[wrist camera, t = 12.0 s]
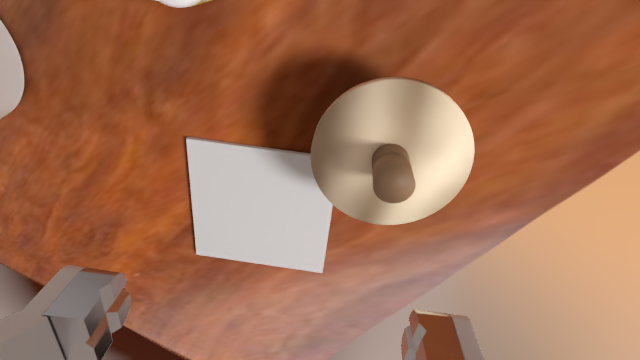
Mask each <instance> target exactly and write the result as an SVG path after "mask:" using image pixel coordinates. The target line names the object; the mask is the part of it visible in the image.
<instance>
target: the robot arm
mask: <svg viewBox="0 0 640 360" xmlns="http://www.w3.org/2000/svg"><path fill="white" fill-rule="evenodd" d="M23 90H24V71H23V66H22V62H21V58H20V55H19V52H18V50H17V47H16V45H15V43H14V41H13V39H12V37H11V35H10V34H9V32H8V30H7V29H6V27H5V26H4V24H3V23H2V21H1V20H0V119H1V118H3V117H4V116H6V115H7V114H9V113H10V112H11V111H13V110H14V109H15V108H16V106H17V105H18V104H19V102H20V100H21V97H22V94H23ZM126 283H127V280H126V277H125V274H123V273H118V272H112V271H105V270H99V269H93V268H85V267H78V266H71V265H67V266H65V267H63V268H61V269H60V270H59V271H58V272H57V273H56V275H55V276H54V277H53V278H52V279H51V280H50V281H49V282H48V283H47V284H46V285H45V287H44V288H43V289H42V290H41V291H40V292H39V293H38V294H37V295H36V296H35V297H34V298H33V300H32V301H31V302H30V303H29V304H28V305H27V306H26V307H25V308H24V309H23V310H22V312H21V313H12V314H10V315H8V316H6V317H4V318H2V319H0V360H102V358H103V357H104V355H105V353H106V352H107V350H108V348H109V347H110V345H111V343H112V342H113V341H112V335H111V334H112V333H113V332H115V331H116V330H118V329H119V328H121V327H122V325H123V323H124V322H125V320H126V318H127V315H128V312H129V309H130V302H131V299H130V294H129V292H128V291H127V290H125V289H124V288H123V287H124V286H125V284H126ZM409 321H410V326H408V327H406V328H405V330H404V333H403V337H402V345H401V346H402V359H403V360H484V357H483V355H482V352H481V349H480V346H479V343H478V341H477V338H476V335H475V332H474V330H473V327H472V324H471V321H470V319H469V318H468V317H467V316H461V315H453V314H447V313H438V312H430V311H421V310H413V311H412V312H411V314H410V317H409Z"/></svg>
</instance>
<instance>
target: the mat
mask: <svg viewBox="0 0 640 360" xmlns="http://www.w3.org/2000/svg"><path fill="white" fill-rule="evenodd" d="M186 144H187V155H188V166H189V178H190V189H191V200H192V211H193V222H194V233H195V245H196V254H197V255H203V256H210V257H217V258H224V259H230V260H237V261H244V262H251V263H258V264H264V265H271V266H278V267H285V268H292V269H298V270H305V271H312V272H319V273H323V266H324V259H325V253H326V246H327V240H328V233H329V226H330V220H331V213H332V207H333V204H332V203H331V202H330V201H329V200H328V199H327V198H326V197H325V196H324V194H323V193H322V192H321V190H320V188H319V187H318V185H317V183H316V180H315V178H314V175H313V171H312V167H311V154H310V153H303V152H295V151H288V150H281V149H274V148H267V147H259V146H252V145H245V144H238V143H231V142H223V141H216V140H209V139H202V138H195V137H187V138H186Z"/></svg>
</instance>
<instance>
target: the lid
mask: <svg viewBox="0 0 640 360" xmlns="http://www.w3.org/2000/svg"><path fill="white" fill-rule="evenodd" d="M473 160H474V139H473V133H472V130H471V127H470V125H469V122H468V120H467V119H466V117H465V115H464V113H463V112H462V110H461V109H460V108H459V106H458V105H457V104H456V103H455V101H454V100H453V99H452V98H450V97H449V96H448V95H447V94H446V93H445V92H443V91H442V90H440V89H439V88H437V87H435V86H433V85H431V84H429V83H427V82H424V81H421V80H418V79H413V78H408V77H383V78H378V79H373V80H370V81H367V82H364V83H361V84H359V85H357V86H355V87H353V88H351V89H349V90H348V91H346V92H345V93H343V94H342V95H341V96H339V97H338V98H337V99H336V100H335V101H334V102H333V103H332V104H331V105H330V106H329V107H328V108H327V110H326V111H325V113H324V114H323V116H322V117H321V119H320V121H319V123H318V125H317V127H316V130H315V133H314V137H313V140H312V146H311V167H312V171H313V175H314V178H315V180H316V183H317V185H318V187H319V188H320V190H321V192H322V193H323V194H324V196H325V197H326V198H327V199H328V200H329V201H330V202H331V203H332V204H333V205H334V206H335V207H336V208H338V209H339V210H340V211H342V212H344V213H345V214H347V215H349V216H351V217H353V218H356V219H358V220H361V221H364V222H368V223H373V224H382V225H396V224H404V223H409V222H413V221H416V220H419V219H422V218H425V217H427V216H429V215H431V214H433V213H435V212H436V211H438V210H440V209H441V208H442V207H444V206H445V205H446V204H448V203H449V202H450V201H451V200H452V199H453V198H454V197H455V196H456V195H457V194H458V192H459V191H460V190H461V189H462V187H463V185H464V184H465V182H466V180H467V178H468V176H469V174H470V171H471V168H472V164H473Z"/></svg>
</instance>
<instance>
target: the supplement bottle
mask: <svg viewBox="0 0 640 360" xmlns="http://www.w3.org/2000/svg"><path fill="white" fill-rule="evenodd" d="M156 1H159V2H161V3H163V4H165V5H168V6H171V7H177V8H184V7H190V6H194V5H197V4H201V3H204V2H208V1H212V0H156Z"/></svg>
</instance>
